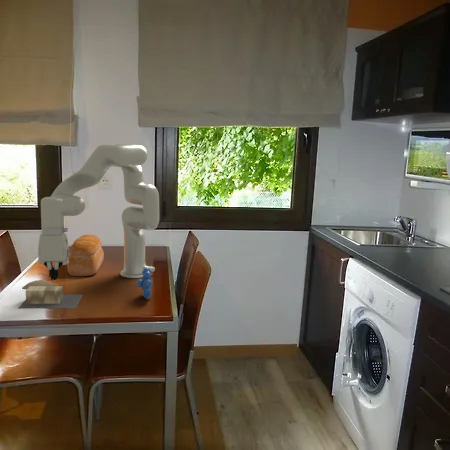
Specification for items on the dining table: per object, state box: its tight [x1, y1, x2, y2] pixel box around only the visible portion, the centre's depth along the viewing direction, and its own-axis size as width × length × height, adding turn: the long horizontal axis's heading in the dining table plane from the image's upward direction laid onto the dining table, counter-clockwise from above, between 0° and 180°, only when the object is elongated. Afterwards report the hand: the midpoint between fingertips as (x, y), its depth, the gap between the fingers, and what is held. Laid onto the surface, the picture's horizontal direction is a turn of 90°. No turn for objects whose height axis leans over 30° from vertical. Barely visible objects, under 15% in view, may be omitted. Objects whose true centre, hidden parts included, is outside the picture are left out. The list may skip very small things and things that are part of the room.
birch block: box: [25, 285, 64, 304], centre depth 164 cm, size 5×5×12 cm
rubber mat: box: [18, 294, 84, 309], centre depth 165 cm, size 20×14×1 cm
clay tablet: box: [21, 279, 60, 291], centre depth 179 cm, size 14×10×3 cm
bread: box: [66, 234, 105, 277], centre depth 207 cm, size 14×26×15 cm, turn 7°
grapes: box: [135, 267, 154, 300], centre depth 173 cm, size 12×7×12 cm, turn 14°
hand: (54, 279), depth 163 cm, fingers closed
